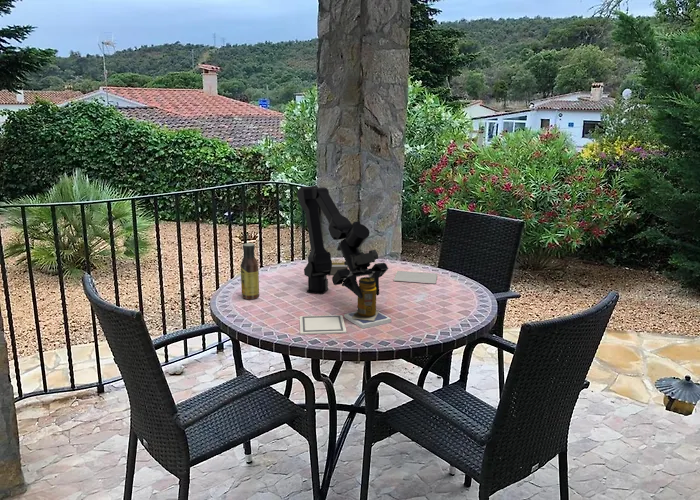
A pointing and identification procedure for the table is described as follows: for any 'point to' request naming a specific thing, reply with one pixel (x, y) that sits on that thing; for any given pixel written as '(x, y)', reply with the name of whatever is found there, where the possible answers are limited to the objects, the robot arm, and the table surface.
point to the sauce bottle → (249, 273)
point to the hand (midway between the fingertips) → (370, 296)
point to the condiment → (366, 300)
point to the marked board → (322, 324)
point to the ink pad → (368, 323)
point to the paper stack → (416, 277)
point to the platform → (337, 267)
